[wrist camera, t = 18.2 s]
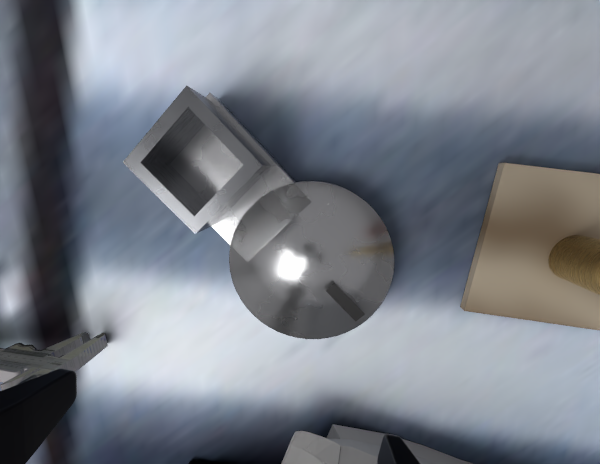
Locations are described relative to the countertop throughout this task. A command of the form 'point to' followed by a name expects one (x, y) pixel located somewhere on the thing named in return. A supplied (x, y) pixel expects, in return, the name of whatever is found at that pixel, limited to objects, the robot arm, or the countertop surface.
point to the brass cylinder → (577, 261)
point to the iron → (352, 448)
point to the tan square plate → (533, 246)
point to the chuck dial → (268, 221)
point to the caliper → (47, 358)
